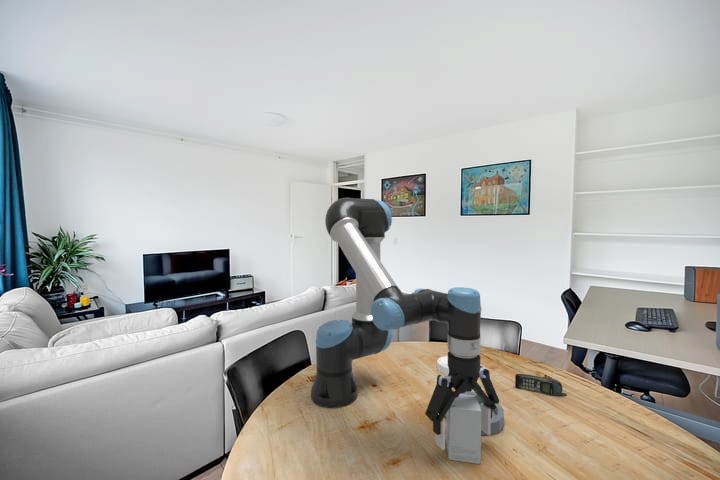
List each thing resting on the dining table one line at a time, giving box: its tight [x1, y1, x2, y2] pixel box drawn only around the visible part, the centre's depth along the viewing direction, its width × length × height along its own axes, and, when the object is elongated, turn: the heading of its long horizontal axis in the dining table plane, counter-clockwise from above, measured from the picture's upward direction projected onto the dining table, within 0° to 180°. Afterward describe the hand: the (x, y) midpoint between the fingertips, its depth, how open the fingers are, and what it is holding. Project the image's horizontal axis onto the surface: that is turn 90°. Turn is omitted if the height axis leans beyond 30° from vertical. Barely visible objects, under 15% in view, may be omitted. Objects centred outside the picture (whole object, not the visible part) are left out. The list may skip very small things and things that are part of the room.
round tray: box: [444, 391, 505, 437], centre depth 89 cm, size 16×16×3 cm
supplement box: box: [445, 394, 482, 465], centre depth 75 cm, size 7×7×13 cm
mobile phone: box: [514, 373, 568, 396], centre depth 103 cm, size 5×3×15 cm
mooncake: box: [436, 355, 449, 376], centre depth 119 cm, size 12×12×4 cm
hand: (463, 438), depth 75 cm, fingers open, 13 cm apart
